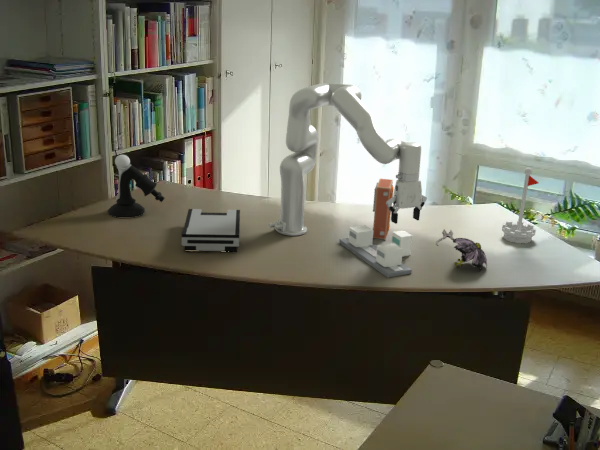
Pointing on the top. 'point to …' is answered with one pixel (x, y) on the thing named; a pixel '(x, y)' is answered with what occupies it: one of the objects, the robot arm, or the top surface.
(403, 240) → the block
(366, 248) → the din rail
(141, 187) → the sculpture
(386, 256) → the block
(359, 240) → the module left
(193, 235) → the game console
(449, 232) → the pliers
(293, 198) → the robot arm
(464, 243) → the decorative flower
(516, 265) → the top surface
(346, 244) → the rail board
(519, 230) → the flag stand
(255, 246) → the top surface
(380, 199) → the control panel
